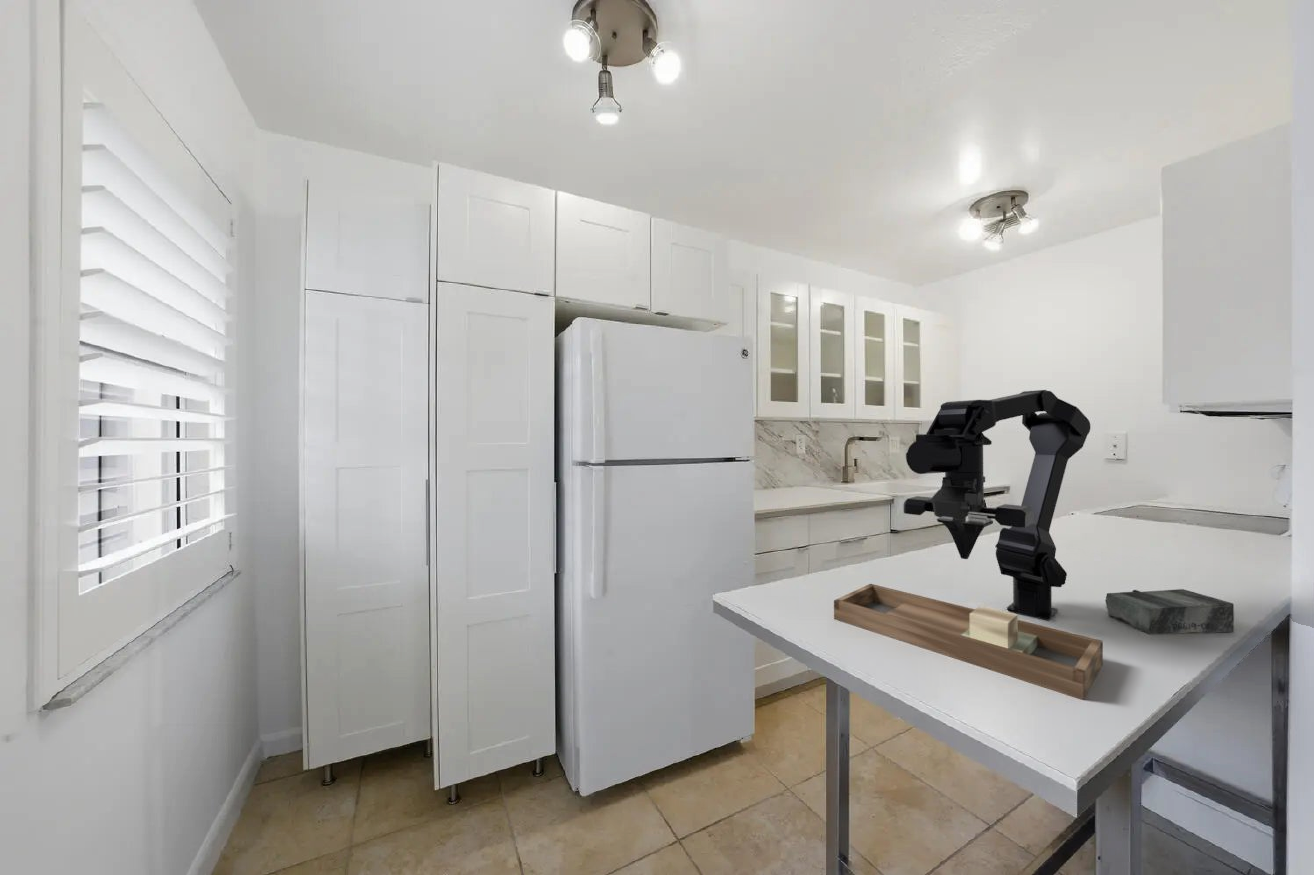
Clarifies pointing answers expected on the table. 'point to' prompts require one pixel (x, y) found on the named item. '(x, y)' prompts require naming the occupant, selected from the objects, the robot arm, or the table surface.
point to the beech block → (994, 626)
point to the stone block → (1171, 611)
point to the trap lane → (947, 631)
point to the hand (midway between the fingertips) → (964, 558)
